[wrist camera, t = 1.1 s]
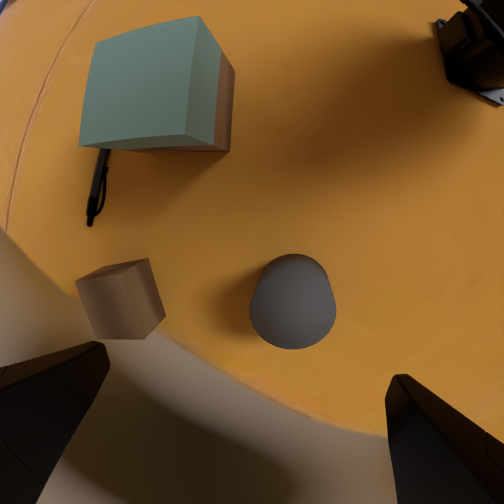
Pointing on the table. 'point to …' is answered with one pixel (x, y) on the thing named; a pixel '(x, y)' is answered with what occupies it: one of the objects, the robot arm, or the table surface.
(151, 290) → the block
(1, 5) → the dish towel
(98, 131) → the tower top
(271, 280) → the stone
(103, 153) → the pen
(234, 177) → the table surface
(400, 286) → the table surface
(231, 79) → the tower base
